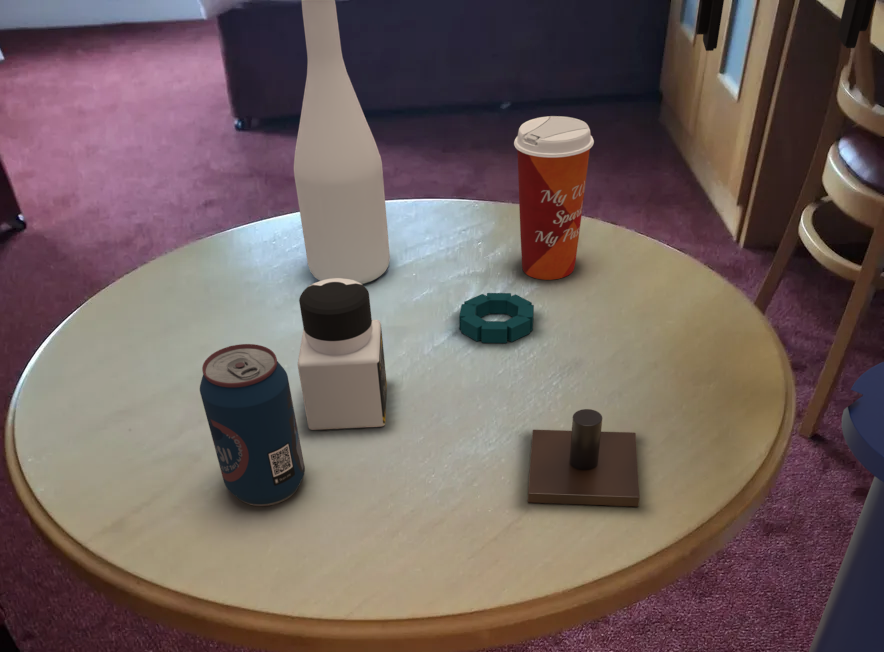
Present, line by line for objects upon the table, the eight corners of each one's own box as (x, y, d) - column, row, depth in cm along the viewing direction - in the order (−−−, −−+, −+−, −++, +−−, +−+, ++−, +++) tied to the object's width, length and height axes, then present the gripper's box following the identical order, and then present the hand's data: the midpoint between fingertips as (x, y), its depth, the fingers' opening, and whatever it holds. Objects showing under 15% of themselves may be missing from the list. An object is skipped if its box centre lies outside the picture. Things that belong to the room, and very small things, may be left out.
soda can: (211, 485, 79) (177, 363, 70) (277, 451, 82) (252, 330, 74) (256, 522, 75) (225, 398, 67) (323, 485, 78) (302, 362, 70)
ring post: (634, 441, 81) (641, 387, 77) (638, 507, 74) (646, 452, 70) (532, 438, 82) (534, 385, 78) (527, 502, 75) (529, 448, 72)
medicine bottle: (385, 428, 84) (373, 307, 75) (308, 431, 84) (287, 311, 75) (387, 385, 89) (375, 267, 80) (314, 388, 89) (295, 271, 80)
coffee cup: (549, 292, 100) (556, 148, 90) (497, 268, 105) (497, 129, 94) (600, 266, 104) (612, 125, 93) (547, 244, 108) (553, 108, 98)
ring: (534, 306, 98) (534, 293, 97) (531, 343, 93) (531, 329, 92) (464, 306, 99) (463, 292, 98) (457, 342, 94) (456, 328, 93)
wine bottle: (326, 248, 110) (285, -51, 89) (400, 254, 108) (377, -50, 87) (297, 285, 104) (246, -27, 83) (376, 292, 102) (344, -26, 81)
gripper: (976, -294, 56) (889, 27, 68) (687, -277, 58) (653, 32, 70) (1016, -289, 51) (914, 58, 63) (696, -270, 53) (658, 62, 65)
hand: (776, 44), depth 66 cm, fingers open, 9 cm apart
